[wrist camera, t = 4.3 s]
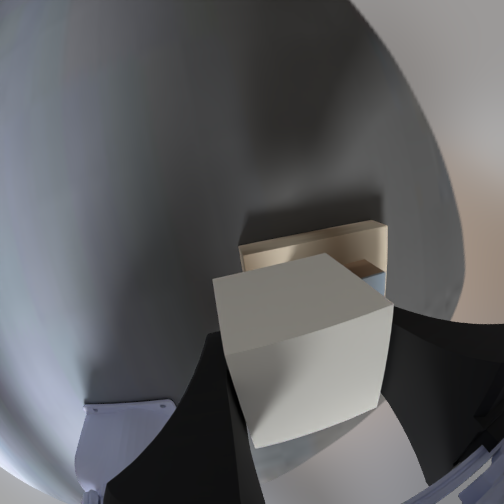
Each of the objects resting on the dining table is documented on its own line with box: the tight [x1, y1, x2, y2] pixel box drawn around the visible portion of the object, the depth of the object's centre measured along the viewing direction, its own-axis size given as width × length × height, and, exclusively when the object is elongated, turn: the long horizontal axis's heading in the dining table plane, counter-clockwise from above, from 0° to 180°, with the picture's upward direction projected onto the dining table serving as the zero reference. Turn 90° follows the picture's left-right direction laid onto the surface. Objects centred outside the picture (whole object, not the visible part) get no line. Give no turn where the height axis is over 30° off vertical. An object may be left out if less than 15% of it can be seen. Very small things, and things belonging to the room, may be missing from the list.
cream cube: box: [212, 253, 394, 449], centre depth 9 cm, size 4×4×4 cm
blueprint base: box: [238, 220, 387, 297], centre depth 18 cm, size 10×10×4 cm
